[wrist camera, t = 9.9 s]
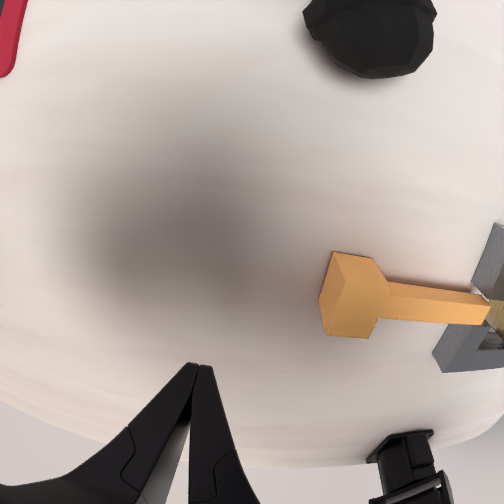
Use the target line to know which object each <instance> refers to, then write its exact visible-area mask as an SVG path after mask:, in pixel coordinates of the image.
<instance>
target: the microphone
mask: <svg viewBox="0 0 504 504" xmlns="http://www.w3.org/2000/svg"><path fill="white" fill-rule="evenodd" d="M302 12H303V16H304V20H305V24H306V27H307V29H308V30H309V32H310V34H311V35H312V37H313V38H314V40H319V41H322V42H323V44H324V46H325V48H326V50H327V52H328V54H329V55H330V56H331V57H332V59H333V60H334V61H335V63H336V64H337V65H338V67H340V68H343V69H345V70H347V71H349V72H351V73H353V74H355V75H357V76H359V77H363V78H370V79H374V78H390V77H397V76H403V75H406V74H410V73H413V72H415V71H416V70H417V69H418V67H419V66H420V65H421V64H422V63H423V62H424V61H425V59H426V58H427V57H428V56H429V54H430V53H431V52H432V50H433V37H434V32H433V25H432V23H433V21H434V19H435V17H436V15H437V12H436V10H435V8H434V6H433V3H432V1H431V0H312V2H311V3H310V4H309V5H308V6H307V7H306V8H305V9H304V10H303V11H302Z"/></svg>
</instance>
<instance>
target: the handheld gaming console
mask: <svg viewBox="0 0 504 504" xmlns="http://www.w3.org/2000/svg"><path fill="white" fill-rule="evenodd" d="M27 2H28V0H0V78H2V77H5V76H7V75H8V74H9V73H10V72H11V70H12V69H13V67H14V65H15V61H16V54H17V48H18V42H19V37H20V32H21V27H22V22H23V18H24V14H25V10H26V6H27Z"/></svg>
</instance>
